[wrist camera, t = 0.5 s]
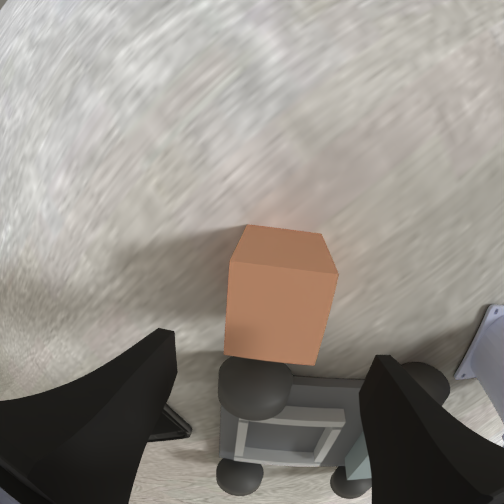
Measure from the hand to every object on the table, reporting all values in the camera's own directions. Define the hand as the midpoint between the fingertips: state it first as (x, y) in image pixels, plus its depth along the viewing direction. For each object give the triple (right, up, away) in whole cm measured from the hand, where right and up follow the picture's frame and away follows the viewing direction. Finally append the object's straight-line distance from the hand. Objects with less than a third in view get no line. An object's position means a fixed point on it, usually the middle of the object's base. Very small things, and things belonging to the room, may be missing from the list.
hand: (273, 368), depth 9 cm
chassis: (+5, -13, +14) cm, 19 cm away
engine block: (+1, +3, +9) cm, 9 cm away
